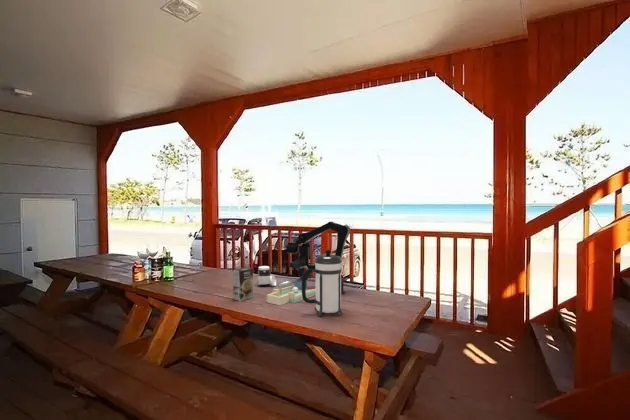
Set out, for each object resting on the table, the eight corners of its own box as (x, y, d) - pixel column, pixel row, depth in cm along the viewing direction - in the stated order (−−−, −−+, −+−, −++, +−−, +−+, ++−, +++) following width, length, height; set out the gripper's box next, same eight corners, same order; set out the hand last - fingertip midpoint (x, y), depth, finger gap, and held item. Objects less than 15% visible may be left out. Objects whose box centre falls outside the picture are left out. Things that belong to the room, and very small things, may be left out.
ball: (299, 292, 183) (299, 286, 183) (295, 293, 180) (295, 287, 180) (294, 291, 185) (294, 285, 185) (291, 292, 182) (291, 287, 182)
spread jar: (257, 284, 211) (256, 266, 211) (274, 282, 214) (274, 264, 214) (259, 288, 200) (259, 269, 199) (277, 287, 203) (277, 268, 203)
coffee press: (323, 305, 166) (323, 246, 165) (350, 311, 156) (350, 248, 155) (300, 314, 152) (300, 250, 152) (328, 322, 142) (328, 253, 142)
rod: (315, 286, 194) (315, 276, 194) (288, 295, 175) (288, 284, 175) (304, 284, 199) (304, 274, 199) (277, 293, 180) (277, 282, 180)
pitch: (317, 294, 186) (317, 285, 186) (284, 306, 164) (284, 296, 164) (295, 290, 195) (295, 281, 195) (262, 301, 173) (262, 291, 173)
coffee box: (240, 301, 173) (240, 271, 173) (232, 299, 177) (232, 269, 177) (253, 297, 180) (253, 268, 180) (245, 295, 184) (245, 266, 184)
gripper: (283, 254, 195) (283, 280, 195) (307, 257, 184) (308, 285, 184) (295, 252, 204) (295, 277, 204) (319, 254, 192) (319, 281, 193)
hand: (304, 280), depth 196 cm, fingers closed on rod, 3 cm apart
